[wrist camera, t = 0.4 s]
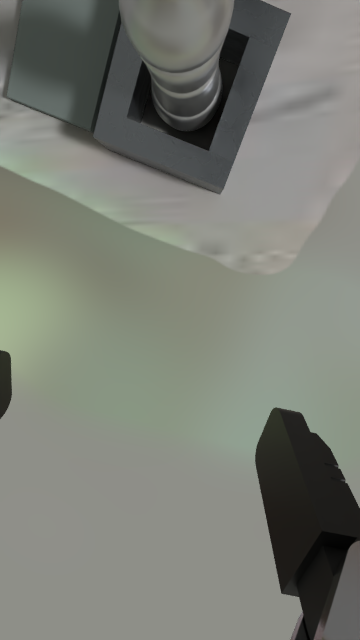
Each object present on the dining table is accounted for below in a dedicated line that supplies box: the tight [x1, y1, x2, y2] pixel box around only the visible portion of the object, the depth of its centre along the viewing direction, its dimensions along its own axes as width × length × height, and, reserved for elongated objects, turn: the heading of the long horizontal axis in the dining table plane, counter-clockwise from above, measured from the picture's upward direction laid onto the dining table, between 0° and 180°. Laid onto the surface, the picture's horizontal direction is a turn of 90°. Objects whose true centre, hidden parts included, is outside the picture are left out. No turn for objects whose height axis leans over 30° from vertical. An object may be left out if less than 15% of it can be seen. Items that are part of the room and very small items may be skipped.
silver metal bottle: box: [119, 0, 234, 131], centre depth 22 cm, size 6×7×20 cm
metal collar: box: [93, 0, 291, 194], centre depth 29 cm, size 14×13×5 cm
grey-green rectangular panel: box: [7, 0, 121, 132], centre depth 30 cm, size 14×9×1 cm, turn 160°
